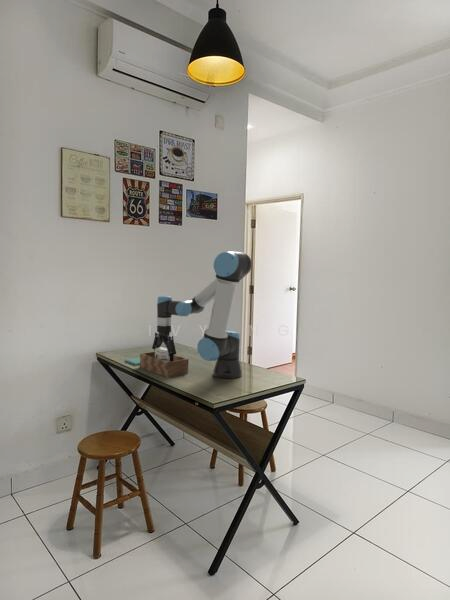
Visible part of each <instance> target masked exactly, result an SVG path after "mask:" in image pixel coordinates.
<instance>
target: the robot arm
mask: <svg viewBox="0 0 450 600" xmlns="http://www.w3.org/2000/svg"><path fill="white" fill-rule="evenodd" d="M212 266H213V270H214V272H215V279H214V280H213V281H211V282H210V283H209V284H207V286H206V287H204V288H203V289H201V291H200V292H198V294H196V295H195V296H193V298H191V299H186V300H173V299H172V296H170V295H160V296H158V297H157V302H156V303H157V304H156V307H157V308H156V311H157V313H156V314H157V316H156V324H157V325H156V332H155V333H154V338H153V343H152V347H151V348H152V349H153V350H154V351H153V352H155V349H156V348H158V347H162V345H163V343H164V345H165V348H167V350H168V353H169V355H168V362H172V361H173V355H177V350H176V346H175V339H174V335H170V334H171V333H172V316H178V317H188V316H189V315H192V314H200V313H202V312H204V310H205V307H206V306H207V305H209V304H210V303H212V301H213V300H214V301H213V304H212V309H211V314H210V319H209V325H208V328H207V329H205V330H204V332H203V337H202V338H201V339H200V340H199V341H198V343H197V352H198V354H199V357H201V358H202V359H203V360H204V361H207V362H214V361H215V365H214V367H213V369H212V376H213V377H216V378H220V379H235V378H240V377H242V376H243V371H242V370H243V369H242V368H241V367H242V366H241V363H240V341H241V339H240V333H239V332H238V331H232V330H231V331H230V330H227V326H228V322H229V316H230V313H231V309H232V302H233V300H234V299H233V298H234V292H235V288H236V286H237V284H239V283H240V281H241V280H242V279H243V278H245V277H246V276H248V274H250V272H251V270H252V267H253V261H252V259H251V257H250V255H248V254H247V253H245V252H242V251H229V250H228V251H222V252H220V253H219V254H217V255H216V257H215V259H214V261H213V265H212Z"/></svg>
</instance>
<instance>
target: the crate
mask: <svg viewBox="0 0 450 600" xmlns="http://www.w3.org/2000/svg"><path fill="white" fill-rule="evenodd" d="M139 357H140V365H139V367H140V368H141V369H145V370H147V371H149V372H152V373H155V374H157V375H159V376H162V377H165V378H170V377H175V376H180V375H184V374H185V375H186V374H189V358H186V357H184V356H180V355H177V354H175V355H173V361H172V362H165V361H162V360H159V359H156V358H155V351H148V352H143V353H140V354H139Z"/></svg>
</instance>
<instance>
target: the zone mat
mask: <svg viewBox="0 0 450 600" xmlns="http://www.w3.org/2000/svg"><path fill="white" fill-rule="evenodd" d="M124 362H125V363H127V364H131V365H133V366H140V356H139V357H138V356H137V357H133V358H132V357H131V358H127V359H124Z"/></svg>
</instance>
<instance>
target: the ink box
mask: <svg viewBox="0 0 450 600" xmlns="http://www.w3.org/2000/svg"><path fill="white" fill-rule="evenodd" d="M154 352H155V358H156V359H159V360H162V361H165V362H168V355H169V353H168V350H167V347H166V346H165V347H164V346H163V347H162V346H160V347H158V348H156V349H155V351H154Z"/></svg>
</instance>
